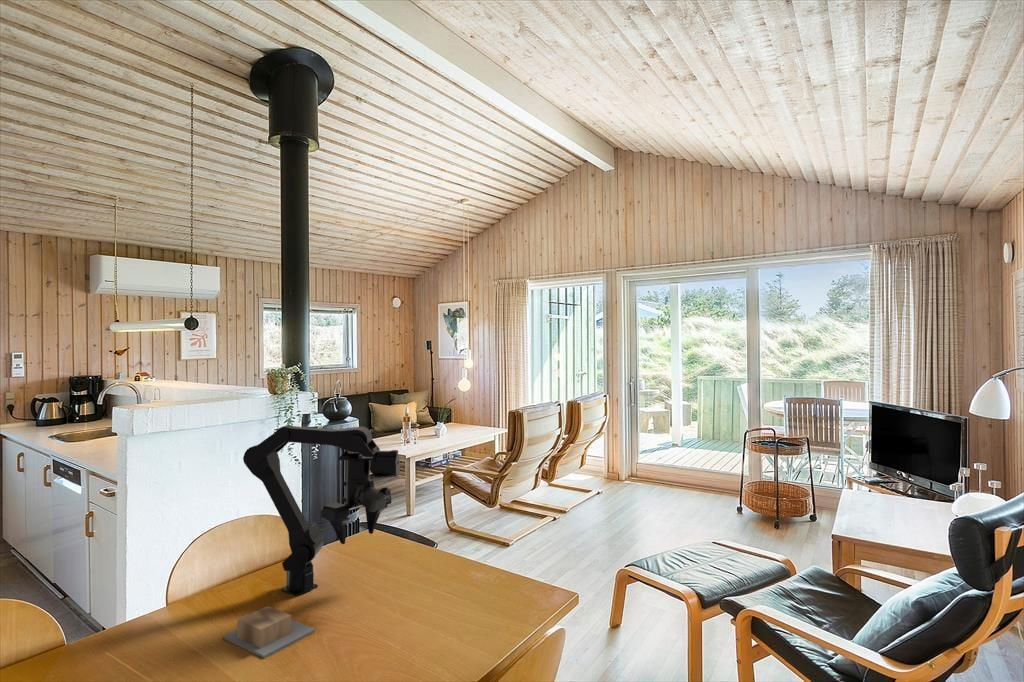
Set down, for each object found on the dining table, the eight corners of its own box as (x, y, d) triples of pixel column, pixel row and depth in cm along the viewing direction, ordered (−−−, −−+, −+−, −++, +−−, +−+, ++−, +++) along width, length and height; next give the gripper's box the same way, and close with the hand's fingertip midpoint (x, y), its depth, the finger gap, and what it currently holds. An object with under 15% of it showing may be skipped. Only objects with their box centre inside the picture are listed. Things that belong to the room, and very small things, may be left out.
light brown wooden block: (267, 623, 117) (237, 637, 111) (267, 606, 117) (237, 619, 111) (291, 632, 113) (260, 648, 107) (291, 615, 113) (260, 629, 107)
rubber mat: (222, 638, 112) (222, 635, 112) (274, 614, 122) (274, 612, 122) (264, 658, 105) (264, 655, 105) (315, 631, 115) (315, 629, 115)
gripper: (351, 488, 125) (350, 556, 124) (406, 474, 141) (406, 534, 140) (319, 482, 131) (318, 547, 130) (376, 469, 147) (375, 526, 146)
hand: (357, 538), depth 137 cm, fingers open, 9 cm apart
